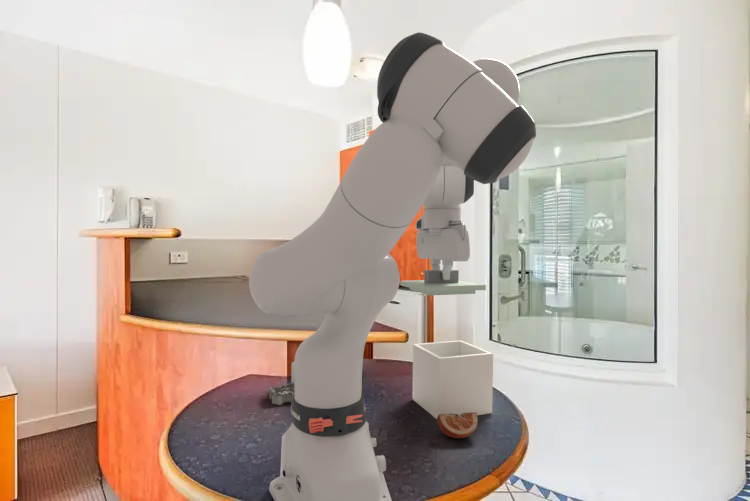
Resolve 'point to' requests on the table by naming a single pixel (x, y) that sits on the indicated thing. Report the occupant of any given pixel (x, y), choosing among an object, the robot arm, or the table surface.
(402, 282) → the lid
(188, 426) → the table surface
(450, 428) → the fruit slice
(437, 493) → the table surface
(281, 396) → the egg carton
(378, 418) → the table surface
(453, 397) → the box
